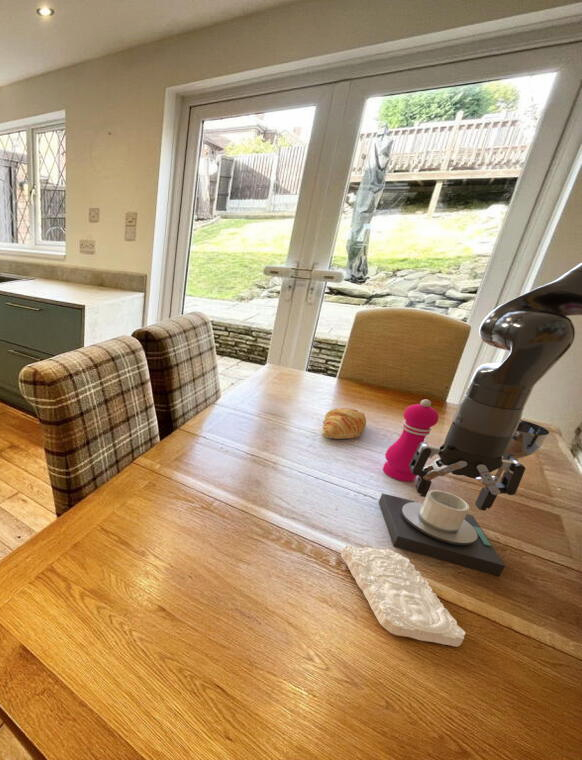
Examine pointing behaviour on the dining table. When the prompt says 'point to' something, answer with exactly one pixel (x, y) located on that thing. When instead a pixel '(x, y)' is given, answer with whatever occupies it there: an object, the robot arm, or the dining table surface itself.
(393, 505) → the scale
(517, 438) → the wine glass
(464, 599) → the dining table surface
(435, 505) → the white short hollow cylinder
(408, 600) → the carved plaster tablet
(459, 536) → the scale pan
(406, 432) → the pepper mill
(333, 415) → the croissant
